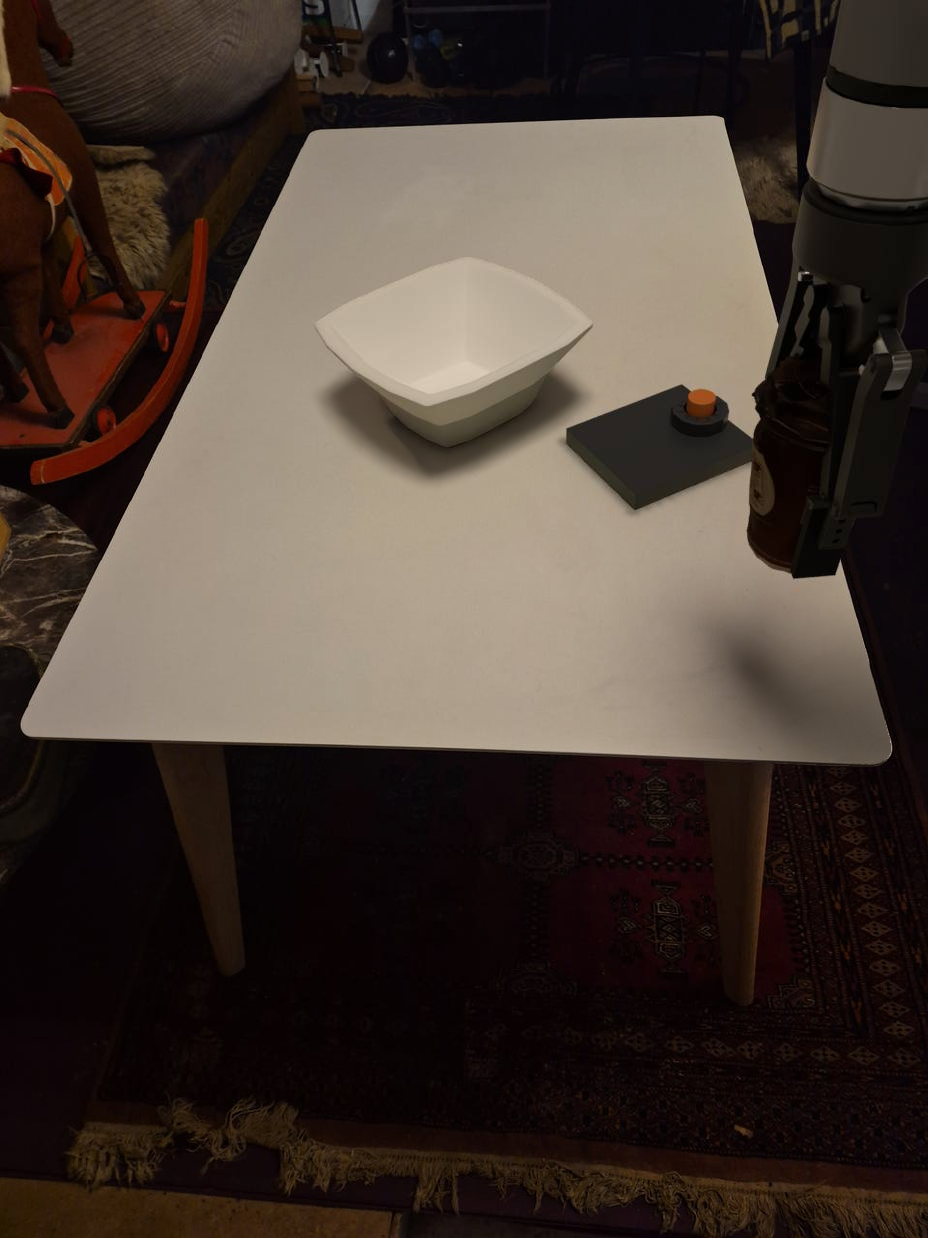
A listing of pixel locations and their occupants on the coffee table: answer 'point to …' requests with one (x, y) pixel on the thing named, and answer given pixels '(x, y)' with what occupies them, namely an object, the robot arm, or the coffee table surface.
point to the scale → (659, 446)
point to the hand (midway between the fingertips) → (793, 530)
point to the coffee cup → (786, 457)
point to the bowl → (455, 345)
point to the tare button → (701, 403)
